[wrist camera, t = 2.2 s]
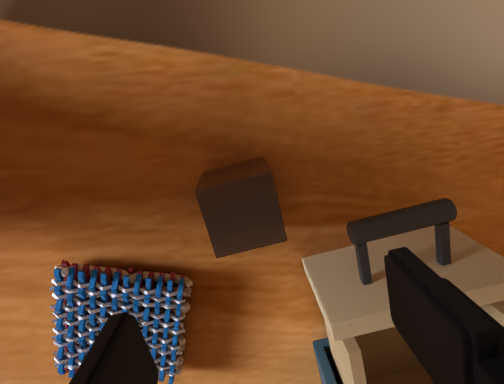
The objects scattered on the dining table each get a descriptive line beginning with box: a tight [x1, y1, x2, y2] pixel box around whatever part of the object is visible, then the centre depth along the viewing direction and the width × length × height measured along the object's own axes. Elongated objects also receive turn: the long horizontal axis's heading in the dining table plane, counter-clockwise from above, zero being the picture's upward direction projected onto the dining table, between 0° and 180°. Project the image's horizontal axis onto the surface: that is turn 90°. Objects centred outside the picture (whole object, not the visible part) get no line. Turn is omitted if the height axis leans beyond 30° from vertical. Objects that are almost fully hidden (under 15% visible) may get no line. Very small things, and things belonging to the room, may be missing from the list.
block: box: [195, 157, 287, 258], centre depth 20 cm, size 5×5×5 cm
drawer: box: [302, 198, 504, 384], centre depth 21 cm, size 18×11×7 cm, turn 14°
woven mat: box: [50, 260, 193, 384], centre depth 24 cm, size 10×11×2 cm
